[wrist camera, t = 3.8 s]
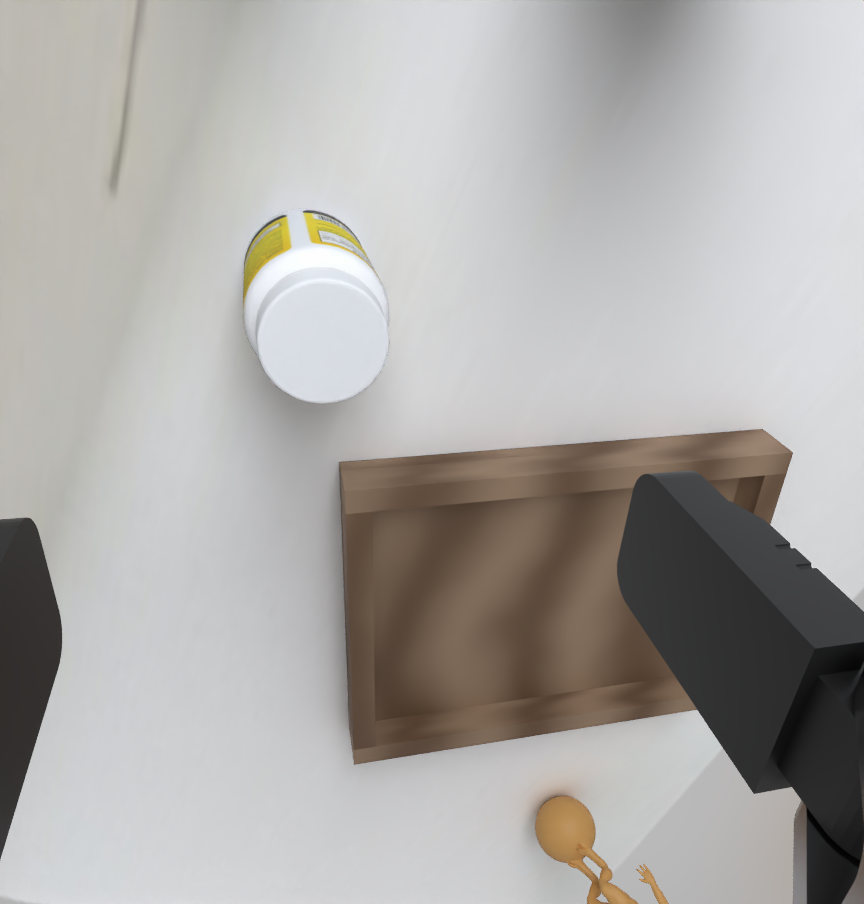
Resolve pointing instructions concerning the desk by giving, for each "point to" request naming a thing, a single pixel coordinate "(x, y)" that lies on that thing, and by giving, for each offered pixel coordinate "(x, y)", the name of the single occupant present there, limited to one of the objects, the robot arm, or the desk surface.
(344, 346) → the supplement bottle
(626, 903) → the figurine
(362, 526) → the walnut tray
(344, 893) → the desk surface
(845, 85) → the desk surface
